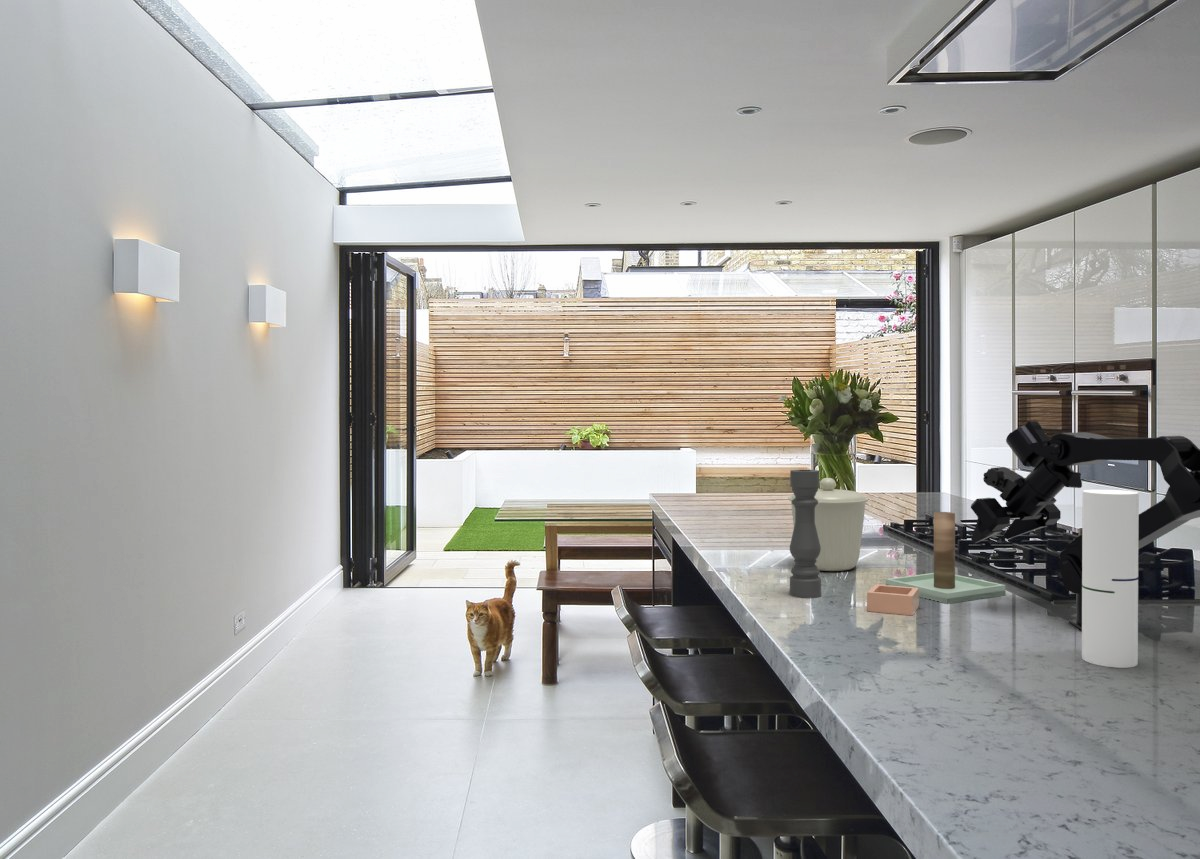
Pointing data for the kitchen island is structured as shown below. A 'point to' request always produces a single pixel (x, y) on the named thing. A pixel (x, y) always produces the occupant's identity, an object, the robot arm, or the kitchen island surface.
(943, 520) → the dowel pin
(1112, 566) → the cylindrical container
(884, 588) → the pink open box
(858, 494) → the canister
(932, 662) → the kitchen island surface
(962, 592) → the tray
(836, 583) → the kitchen island surface
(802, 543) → the candle holder
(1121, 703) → the kitchen island surface
